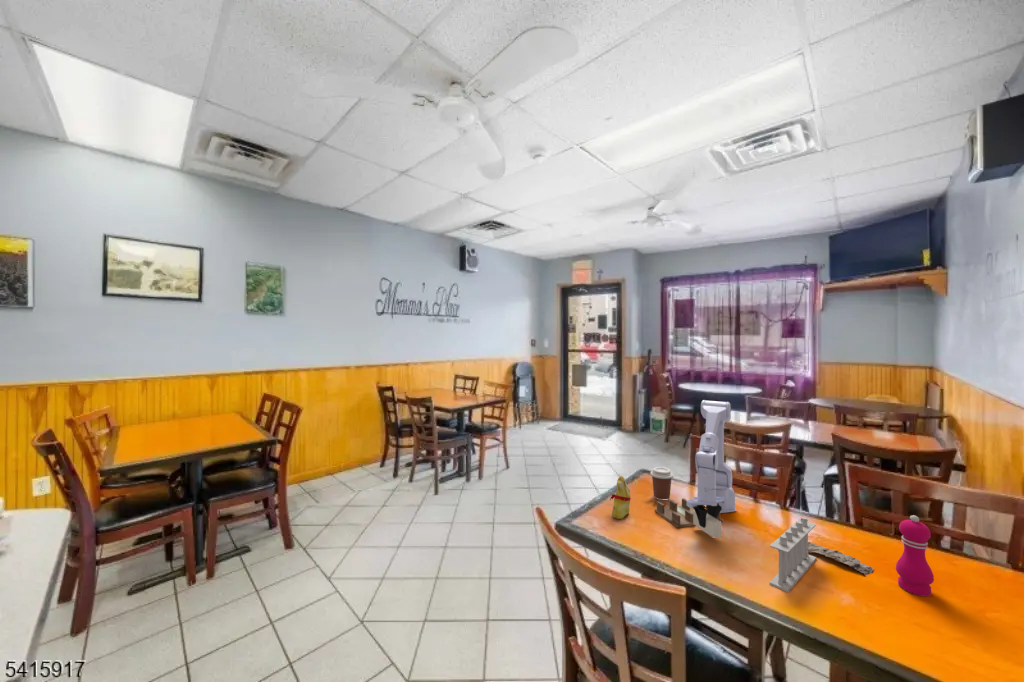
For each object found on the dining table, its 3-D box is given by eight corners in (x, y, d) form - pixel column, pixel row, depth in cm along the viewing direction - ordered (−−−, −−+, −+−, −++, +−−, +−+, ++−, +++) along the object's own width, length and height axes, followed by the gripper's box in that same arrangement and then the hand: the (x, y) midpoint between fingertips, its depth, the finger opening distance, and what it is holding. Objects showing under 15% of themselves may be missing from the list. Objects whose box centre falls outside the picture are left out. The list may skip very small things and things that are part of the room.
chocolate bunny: (634, 511, 155) (633, 473, 155) (622, 521, 146) (622, 481, 146) (617, 507, 159) (617, 469, 159) (605, 516, 151) (605, 477, 150)
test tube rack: (788, 593, 105) (788, 543, 105) (769, 585, 109) (769, 537, 109) (816, 559, 121) (816, 517, 121) (799, 553, 124) (799, 512, 124)
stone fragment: (871, 582, 111) (876, 568, 118) (871, 572, 111) (877, 558, 118) (768, 545, 131) (778, 535, 137) (768, 536, 131) (778, 526, 137)
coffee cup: (652, 501, 164) (652, 472, 164) (648, 492, 173) (648, 465, 173) (675, 502, 163) (675, 473, 163) (670, 494, 172) (670, 466, 172)
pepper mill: (938, 601, 102) (938, 524, 101) (900, 591, 105) (900, 517, 105) (928, 586, 108) (928, 513, 108) (892, 577, 112) (892, 507, 111)
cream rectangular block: (700, 522, 141) (700, 509, 141) (721, 536, 131) (721, 521, 131) (693, 523, 141) (693, 510, 140) (713, 537, 131) (713, 522, 131)
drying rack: (696, 506, 159) (696, 496, 159) (722, 522, 146) (722, 511, 146) (654, 511, 155) (654, 501, 155) (677, 527, 141) (677, 516, 141)
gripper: (696, 493, 130) (696, 533, 130) (733, 488, 134) (733, 528, 134) (682, 485, 137) (682, 523, 137) (718, 481, 140) (718, 519, 141)
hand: (706, 525), depth 136 cm, fingers closed on cream rectangular block, 3 cm apart
